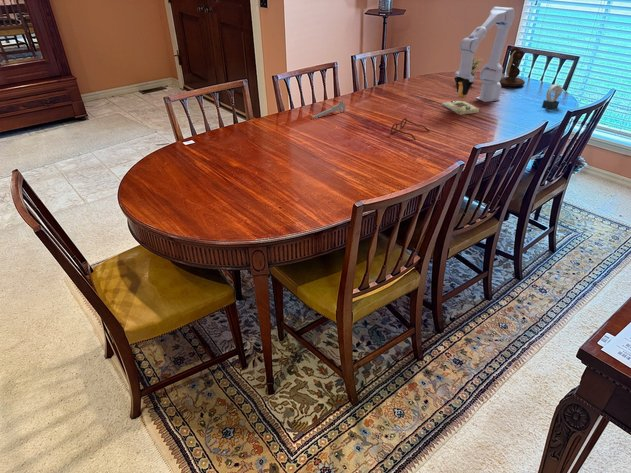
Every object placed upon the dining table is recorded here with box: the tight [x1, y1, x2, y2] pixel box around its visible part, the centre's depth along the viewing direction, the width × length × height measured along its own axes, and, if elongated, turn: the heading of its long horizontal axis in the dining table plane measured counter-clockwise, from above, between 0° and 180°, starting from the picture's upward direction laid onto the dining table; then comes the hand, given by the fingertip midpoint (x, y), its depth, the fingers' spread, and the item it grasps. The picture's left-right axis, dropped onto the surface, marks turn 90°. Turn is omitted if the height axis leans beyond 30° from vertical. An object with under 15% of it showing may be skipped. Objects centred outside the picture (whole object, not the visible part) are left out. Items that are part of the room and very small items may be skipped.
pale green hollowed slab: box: [441, 100, 480, 116], centre depth 221 cm, size 10×18×3 cm, turn 15°
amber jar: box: [457, 81, 467, 99], centre depth 216 cm, size 5×5×7 cm
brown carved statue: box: [499, 47, 526, 88], centre depth 248 cm, size 15×15×20 cm
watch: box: [541, 84, 564, 110], centre depth 215 cm, size 6×8×11 cm
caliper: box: [311, 100, 346, 120], centre depth 219 cm, size 20×1×6 cm, turn 120°
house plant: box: [465, 57, 486, 87], centre depth 251 cm, size 14×14×16 cm
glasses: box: [390, 117, 430, 141], centre depth 195 cm, size 13×13×5 cm
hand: (461, 93), depth 217 cm, fingers closed on amber jar, 5 cm apart
